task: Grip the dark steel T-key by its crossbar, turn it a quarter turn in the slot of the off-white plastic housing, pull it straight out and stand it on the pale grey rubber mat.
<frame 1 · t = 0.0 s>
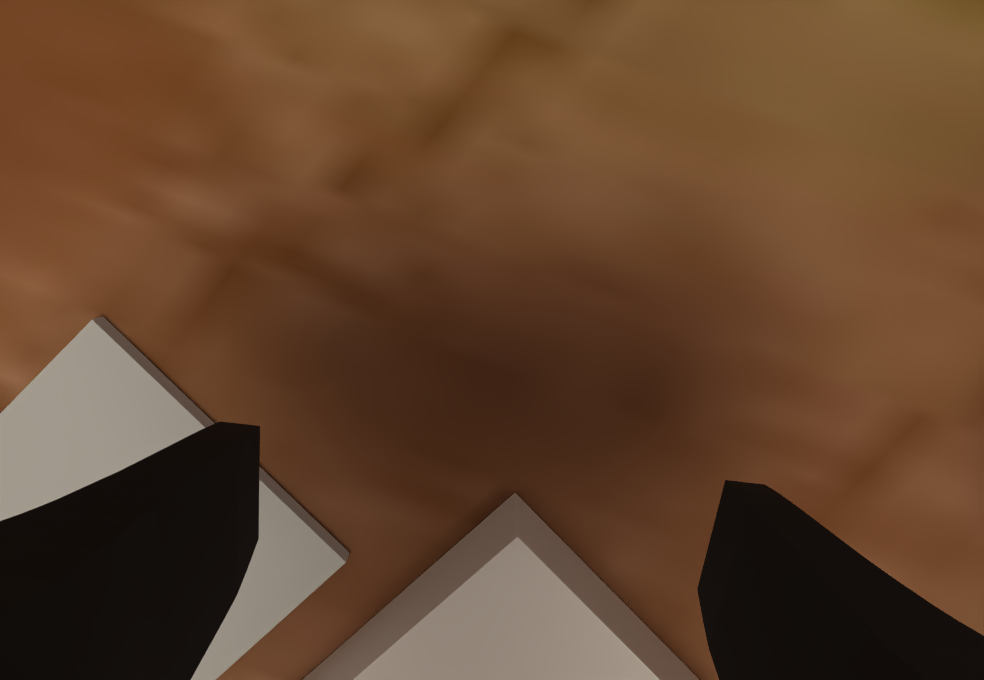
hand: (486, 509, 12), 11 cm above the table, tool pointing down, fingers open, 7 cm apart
grey mat: (117, 545, 23), on the table
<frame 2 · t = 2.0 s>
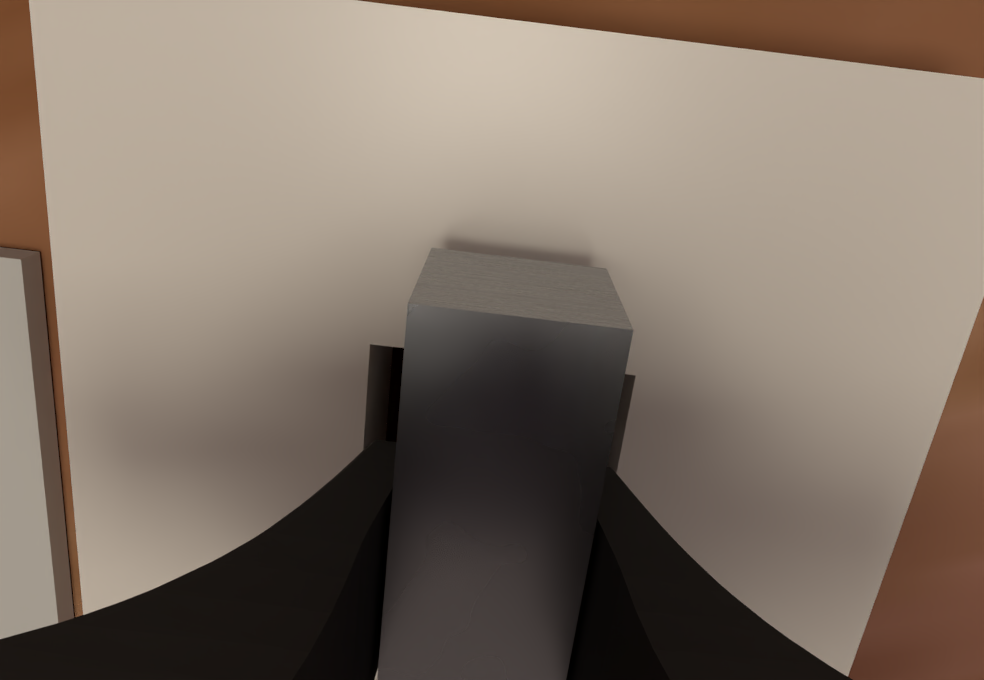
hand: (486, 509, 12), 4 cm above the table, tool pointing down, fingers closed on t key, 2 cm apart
t key: (487, 483, 13), in the key housing, touching gripper
key housing: (492, 400, 16), on the table
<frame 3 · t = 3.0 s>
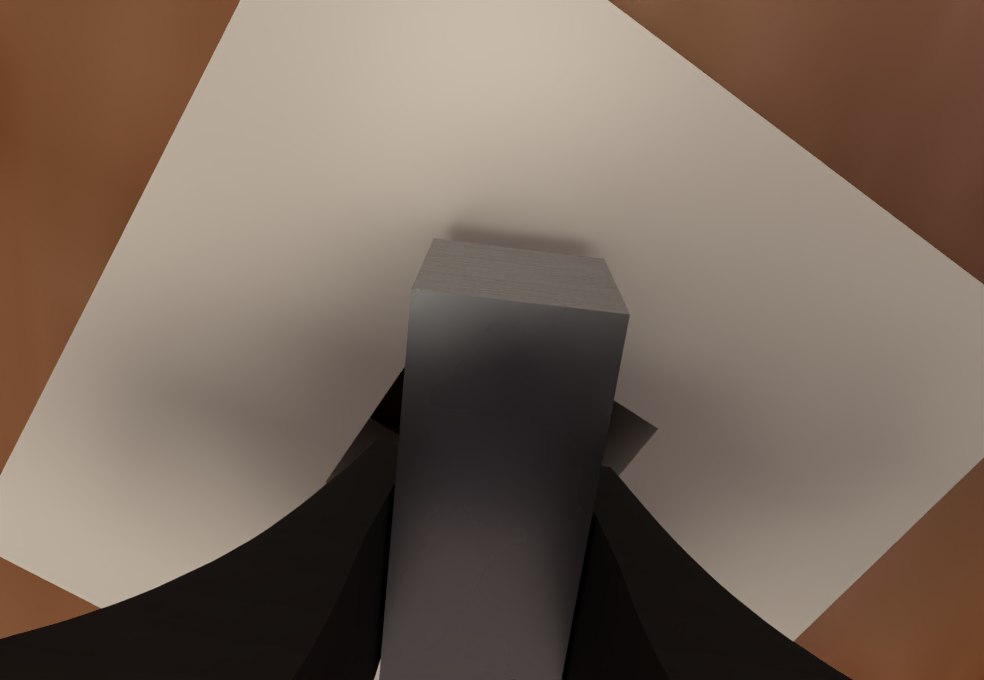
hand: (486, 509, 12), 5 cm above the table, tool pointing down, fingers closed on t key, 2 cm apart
t key: (488, 471, 13), in the key housing, touching gripper
key housing: (492, 386, 16), on the table
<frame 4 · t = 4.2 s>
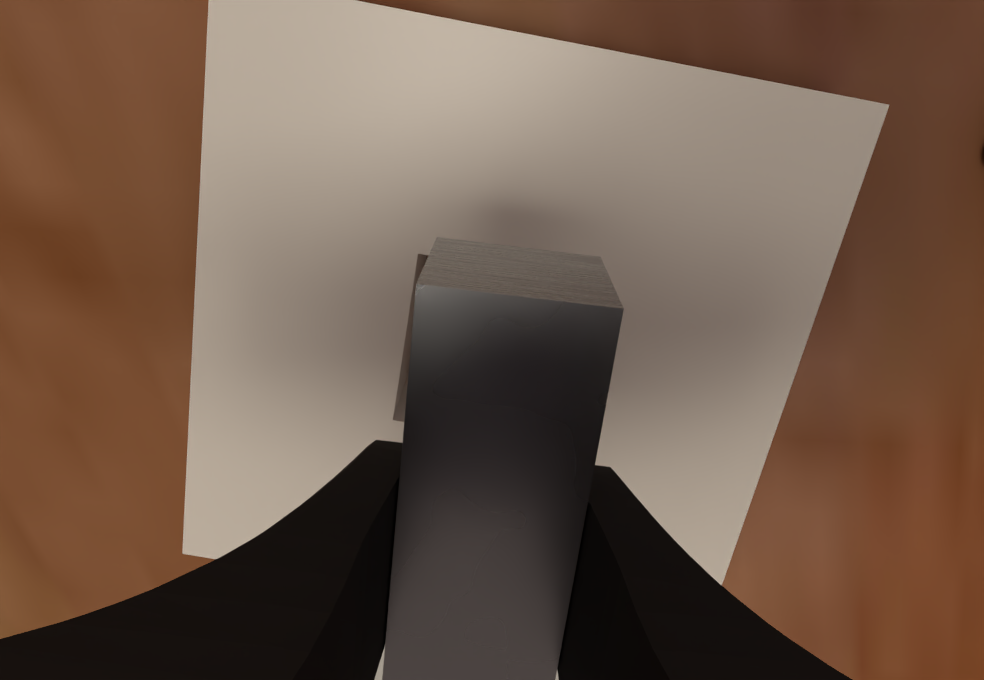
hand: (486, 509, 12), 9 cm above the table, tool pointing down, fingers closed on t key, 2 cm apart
t key: (488, 463, 13), point 8 cm above the table, touching gripper
key housing: (496, 315, 21), on the table
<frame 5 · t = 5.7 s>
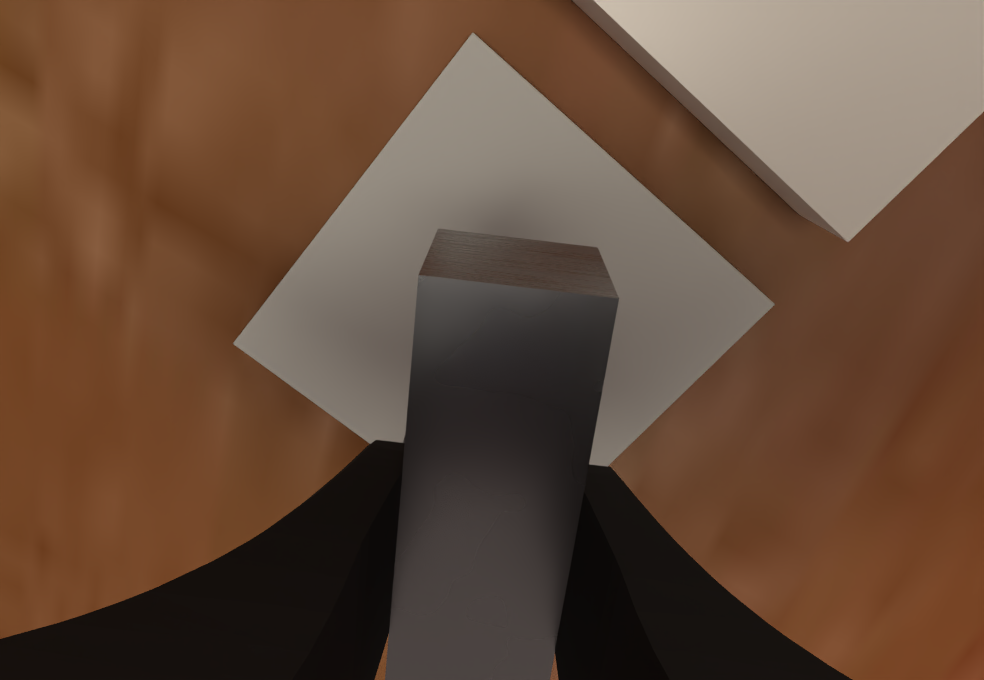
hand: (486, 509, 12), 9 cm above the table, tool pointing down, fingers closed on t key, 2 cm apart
grey mat: (499, 316, 20), on the table
t key: (489, 448, 14), point 7 cm above the table, touching gripper
when the fingers open (6 cm above the table, at t = 6.5 s): t key stays where it is, resting on grey mat.
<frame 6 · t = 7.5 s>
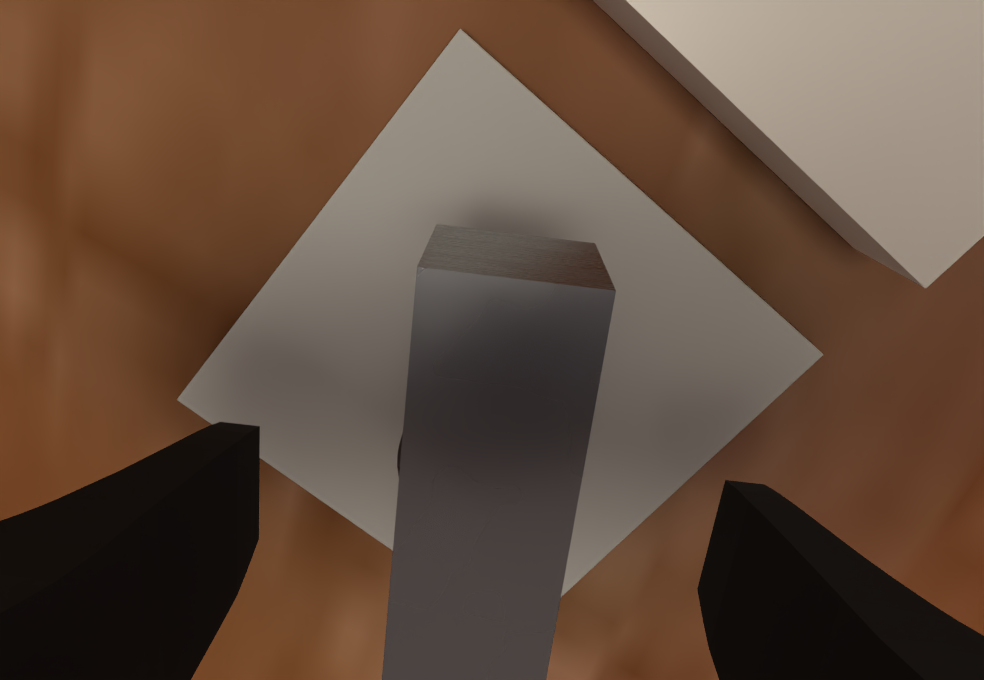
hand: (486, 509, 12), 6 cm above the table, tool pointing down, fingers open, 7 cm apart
grey mat: (493, 367, 17), on the table
t key: (487, 444, 14), on the grey mat, point 4 cm above the table
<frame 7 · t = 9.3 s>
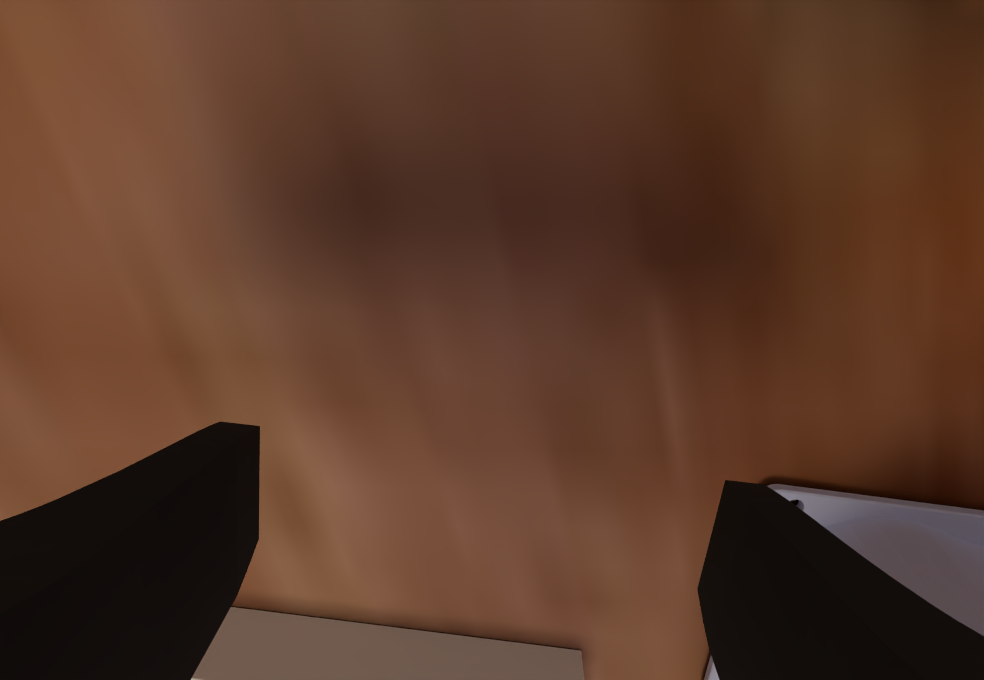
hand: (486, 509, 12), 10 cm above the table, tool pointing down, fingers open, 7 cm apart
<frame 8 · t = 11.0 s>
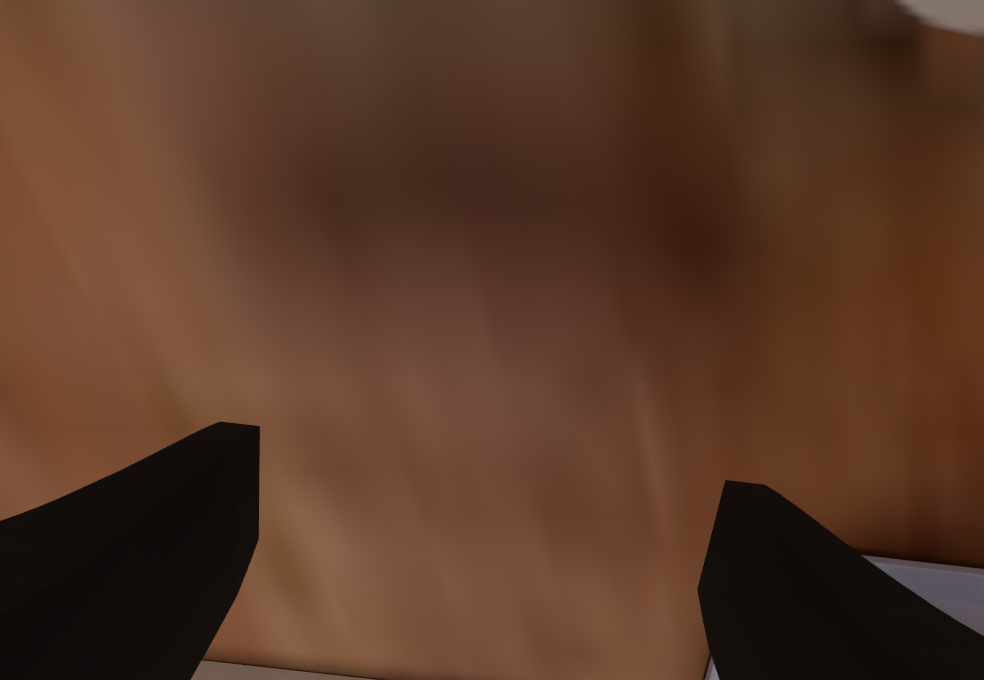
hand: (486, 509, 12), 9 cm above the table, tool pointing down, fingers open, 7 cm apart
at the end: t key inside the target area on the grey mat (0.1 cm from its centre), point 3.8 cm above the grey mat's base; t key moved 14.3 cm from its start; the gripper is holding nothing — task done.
